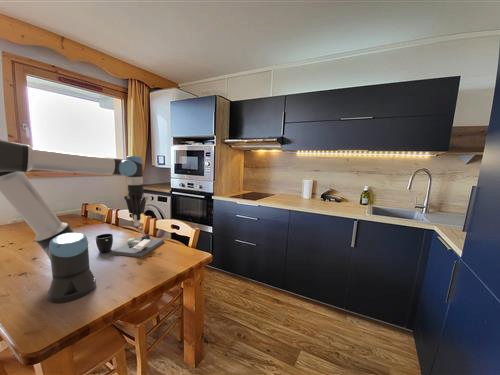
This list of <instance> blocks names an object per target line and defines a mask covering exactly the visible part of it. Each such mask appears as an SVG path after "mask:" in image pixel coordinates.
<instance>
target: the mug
mask: <svg viewBox="0 0 500 375" xmlns="http://www.w3.org/2000/svg"><path fill="white" fill-rule="evenodd" d="M113 237H114V235H113V234H112V233H101V234H98V235H97V236H96V237H95V243H96V247H97V249H98V252H99V253H100V254H106V253H110V252H111V251H112V247H113V242H114V238H113Z"/></svg>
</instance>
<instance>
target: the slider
mask: <svg viewBox="0 0 500 375" xmlns="http://www.w3.org/2000/svg"><path fill="white" fill-rule="evenodd" d="M140 242H141V241H137V240H135V241H133V242H132V246H133V247H135V246H136V245H137V244H139V243H140Z"/></svg>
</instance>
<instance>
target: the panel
mask: <svg viewBox="0 0 500 375" xmlns="http://www.w3.org/2000/svg"><path fill="white" fill-rule="evenodd" d="M145 235H146V237H147V240H151V243H149V244H148V245H147V246H146V247H145V248H143V249H142V250H141V251H135V250H133V246H132V245H128V244H127V243H125V244H123V245H121V246H120V247H118V248H116V249H114V250H112V255H117V256H127V257H136V258H142V257H143V256H145V255H147V254H148V253H149V252H151V251H153V250H155V249H156V248H157V247H159V246H160V245H162V244H163V243H164V241H165V239H164V238H159V237H151V235H150V234H145ZM146 237H144V236H139V237H136V238H135V240H137V241H143V240H144V239H146Z"/></svg>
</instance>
